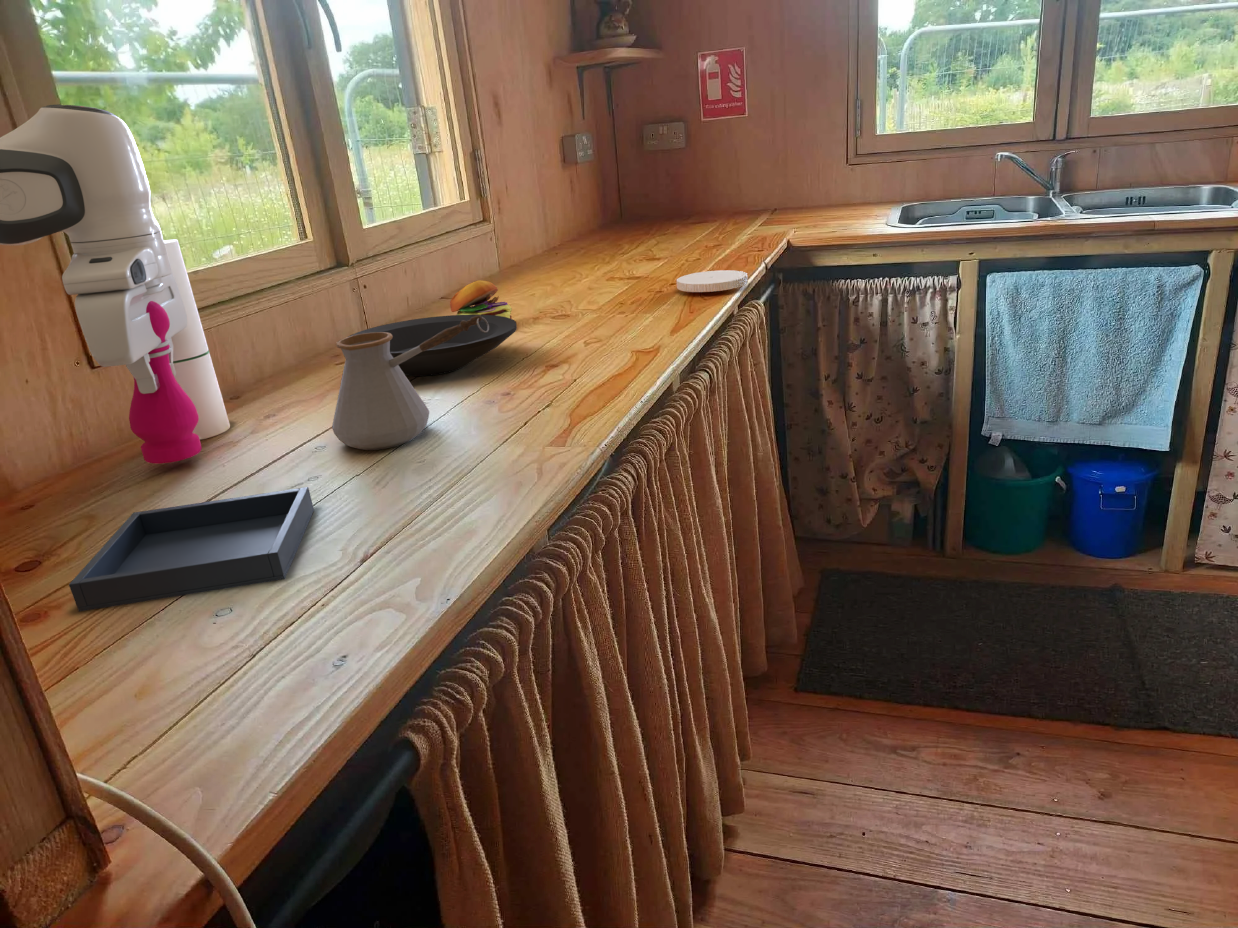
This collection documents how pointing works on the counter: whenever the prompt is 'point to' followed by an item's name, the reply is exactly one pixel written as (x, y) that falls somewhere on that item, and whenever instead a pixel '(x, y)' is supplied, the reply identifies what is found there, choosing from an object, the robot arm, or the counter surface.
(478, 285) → the cheeseburger
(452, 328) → the coffee pot
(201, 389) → the cylindrical container
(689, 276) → the plastic lid
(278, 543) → the tray
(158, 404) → the pepper mill
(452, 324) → the black bowl
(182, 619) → the counter surface
